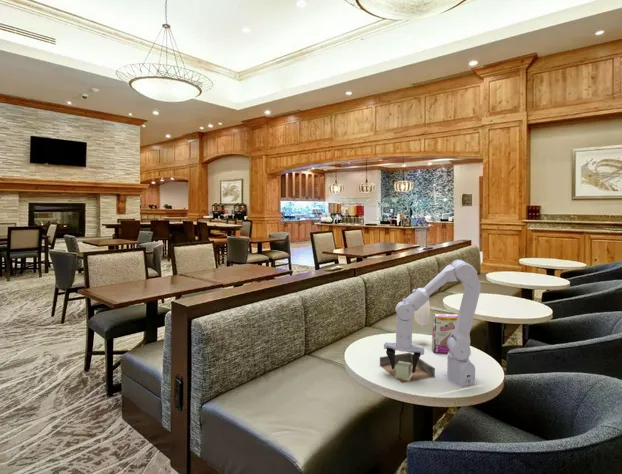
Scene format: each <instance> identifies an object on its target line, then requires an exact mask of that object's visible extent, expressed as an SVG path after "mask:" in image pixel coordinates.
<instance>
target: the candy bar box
mask: <svg viewBox="0 0 622 474" xmlns="http://www.w3.org/2000/svg"><path fill="white" fill-rule="evenodd" d="M458 314H459V313H458ZM458 314H457V313H456V314H454V313H453V314H452V313H451V314H450V313H448V314H447V313H432V337H431V342H432V343H431V350H432V352H433V353H434V354H448V352H449V350H450V349H449V348H448V346H447V339H448V338H449V337H450V335H451V333H452V331H453V330H454V329H455V326H456V322H457V318H458Z"/></svg>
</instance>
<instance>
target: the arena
mask: <svg viewBox="0 0 622 474" xmlns="http://www.w3.org/2000/svg"><path fill="white" fill-rule="evenodd" d="M413 354H414V353H411V352H403V353H397V354H395V368H394V369H392V367H391V363H390V360H389V358H388V356H387V355H386V356H380V357H379V366H380V367H381V368H382V369H384V371H386V372H387V373H388V374H390V376H392V377H393V378H394V379H396V380H398V381H399V382H400V383H401V384H405V383H410V382H417V381H422V380H427V379H432V378H435V376H436V372H435V371H436V368H435V367H434V366H432V365H430V364H429V363H427V362H426V361H424V360H422V359H421V357H420V358H419V360H418V362H417V365H416V370H415V373H412V369H413V359H412V356H413ZM399 361H403V362H408V363H411V375H410V377H409V379H403V378H398V377H396V365H397V363H398V362H399Z"/></svg>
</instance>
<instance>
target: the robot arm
mask: <svg viewBox="0 0 622 474" xmlns="http://www.w3.org/2000/svg"><path fill="white" fill-rule="evenodd" d="M458 280H459V281H460V283H461V285H463V287H464V291H463V294H462V298H461V302H460V307H459V311H458V318H457V322H456V326H455V329H454V330H453V331H452V333H451V335H450V337H449V338H448V339H447V346H448V348H449V349H450V350H449V352H448V353H447V368H446V369H447V370H446V371H447V373H446V374H445V375H441V376H442V378H444V379H446V380H447V381H448V382H449V383H452V384H453V385H454V386H456V387H458V388H463V387H467V386H472V385H473V386H474V385H477V382H476V367H475V365H474V364H473V363H472V362H471V360H470V359H469V358H470V356H471V353H472V351H471V336H470V332H471V331H472V330H471V329H472V325H473V321H474V317H475V313H476V310H477V305H478V301H479V298H480V295H481V294H480V293H481V291H482V290H481V289H482V284H481V281H480V279H479V276H478V271H477V270H476V268H475V267H474V266H473V265H472V264H470V263H469V262H466V261H464V260H463V259H455V260H453V261H452V262H451V263H450V264H448V265H446V266H445V267H444V268H443V269H442V270H441V271H440V272H439V273H437V275H436V276H434V277H433V279H431V280H430V281H429V282H428V283H427V284H426V285H425V286H424V287H418V288H416V289H415V288H413V290H411V293H410V294H409V295H408V296H407V297H405V298H402V300H401V301H399V302H398V303H397V304H396V305H395V308H394V309H395V312H396V318H395V319H396V322H395V342H386V341H385V342H384V343H383V349H384V350H386V351H385V352H386V356H388V358H389V360H390V363H391V367H392V369H394V368H395V355H396V351H399V352H403V353H412V354H413V356H412V359H413V369H412V373H415V370H416V365H417V362H418V360H419V358H420V359H421V356H424V354H425V348H424V347H420V346H417V345H413V340H412V339H413V323H412V318H413V317H414V312H415V311H417V310H418V309H419V308H420V307H421V306H423V305H424V304H425V303H426V302H427V301H429V302H430V295H432V294H433V293H434V292H436V291H437V290H438V289H439V288H441V287H442V286H444V285H445V284H446V283H448V282H457V281H458Z"/></svg>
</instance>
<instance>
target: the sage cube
mask: <svg viewBox="0 0 622 474" xmlns="http://www.w3.org/2000/svg"><path fill="white" fill-rule="evenodd" d="M410 375H411V363H408V362H403V361H399V362H398V363H397V365H396V377H398V378H403V379H409V377H410Z"/></svg>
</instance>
